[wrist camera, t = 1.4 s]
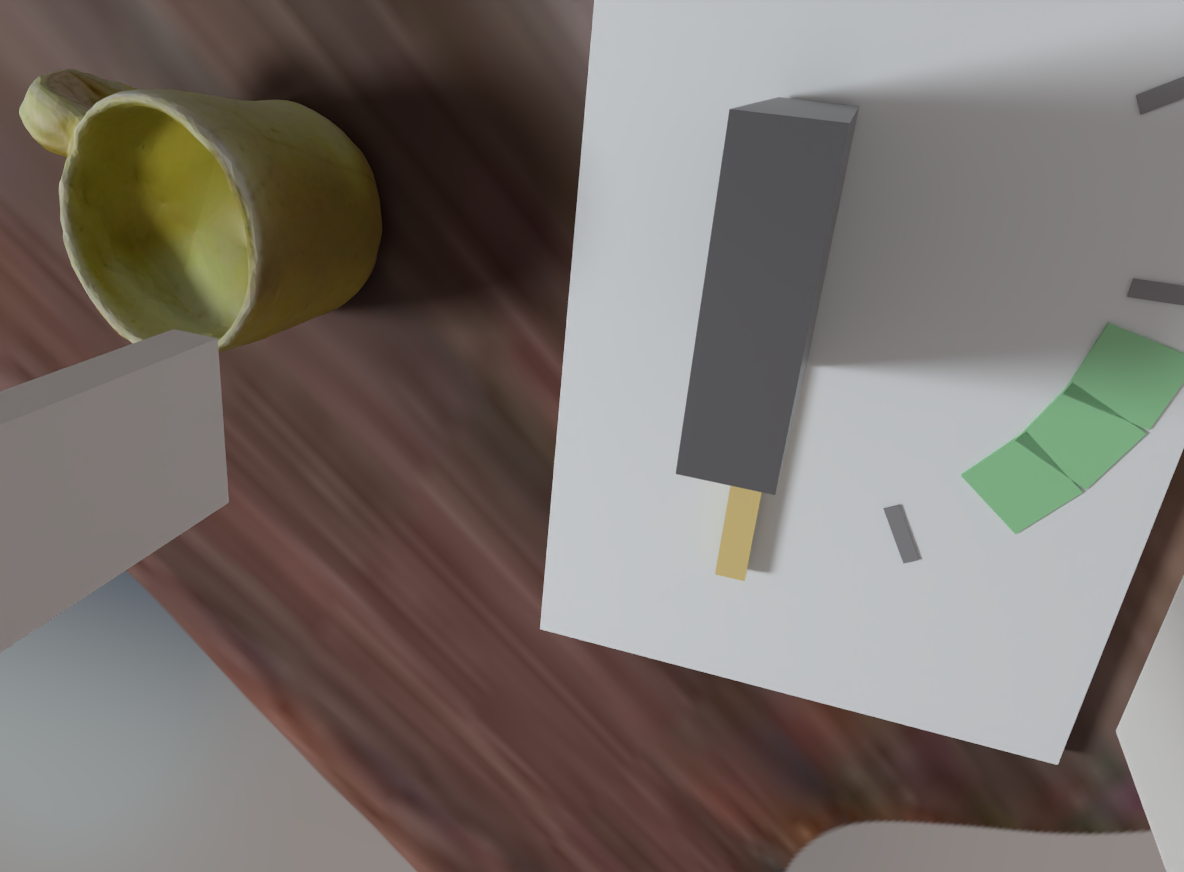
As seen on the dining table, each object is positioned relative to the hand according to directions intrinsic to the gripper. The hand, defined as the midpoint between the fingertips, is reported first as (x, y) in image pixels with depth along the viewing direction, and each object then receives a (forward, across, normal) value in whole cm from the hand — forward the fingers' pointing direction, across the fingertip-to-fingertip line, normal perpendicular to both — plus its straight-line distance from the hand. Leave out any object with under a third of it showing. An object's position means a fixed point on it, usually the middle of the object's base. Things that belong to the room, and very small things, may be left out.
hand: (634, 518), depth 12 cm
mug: (+23, -22, -1) cm, 32 cm away
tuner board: (+23, +3, -5) cm, 24 cm away
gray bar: (+22, 0, -4) cm, 22 cm away
